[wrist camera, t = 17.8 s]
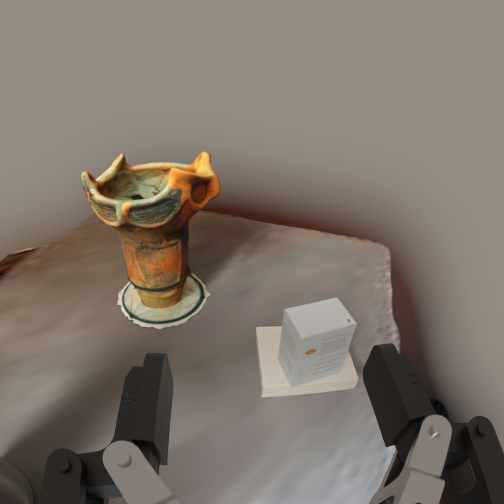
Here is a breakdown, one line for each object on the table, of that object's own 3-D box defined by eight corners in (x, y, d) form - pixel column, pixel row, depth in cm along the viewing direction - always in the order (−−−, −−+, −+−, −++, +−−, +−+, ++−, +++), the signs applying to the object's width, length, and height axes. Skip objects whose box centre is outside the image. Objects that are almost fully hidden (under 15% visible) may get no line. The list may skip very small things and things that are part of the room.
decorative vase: (120, 261, 69) (108, 139, 54) (220, 270, 70) (227, 141, 55) (86, 325, 51) (50, 176, 36) (210, 342, 52) (214, 180, 37)
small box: (324, 347, 47) (338, 295, 42) (340, 373, 43) (359, 323, 37) (275, 359, 45) (283, 307, 40) (289, 388, 41) (301, 338, 35)
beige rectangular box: (261, 397, 42) (263, 388, 41) (255, 337, 52) (255, 327, 51) (354, 388, 43) (358, 379, 42) (335, 333, 53) (338, 323, 52)
